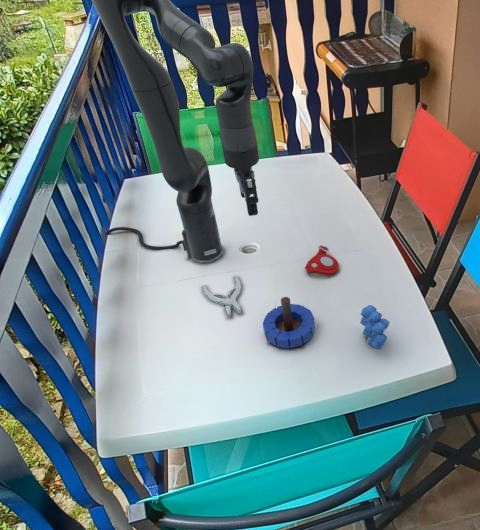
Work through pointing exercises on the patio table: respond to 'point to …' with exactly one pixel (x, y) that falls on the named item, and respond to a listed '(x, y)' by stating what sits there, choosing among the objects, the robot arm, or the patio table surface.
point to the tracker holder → (322, 263)
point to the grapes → (374, 326)
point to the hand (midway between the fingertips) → (249, 205)
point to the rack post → (288, 318)
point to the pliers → (229, 302)
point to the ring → (291, 337)
